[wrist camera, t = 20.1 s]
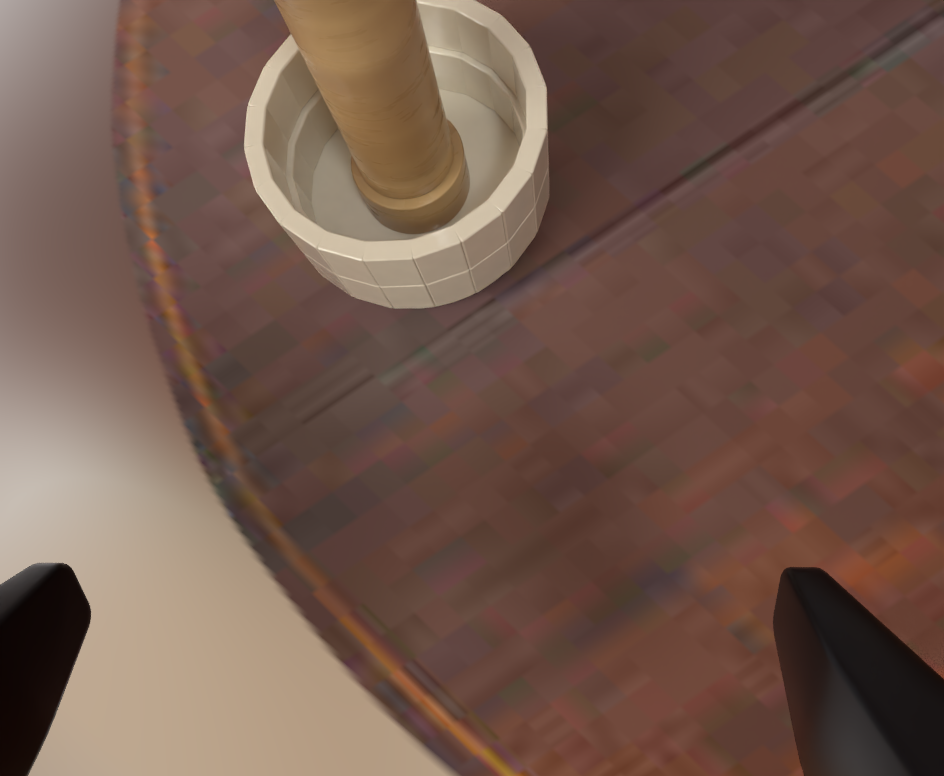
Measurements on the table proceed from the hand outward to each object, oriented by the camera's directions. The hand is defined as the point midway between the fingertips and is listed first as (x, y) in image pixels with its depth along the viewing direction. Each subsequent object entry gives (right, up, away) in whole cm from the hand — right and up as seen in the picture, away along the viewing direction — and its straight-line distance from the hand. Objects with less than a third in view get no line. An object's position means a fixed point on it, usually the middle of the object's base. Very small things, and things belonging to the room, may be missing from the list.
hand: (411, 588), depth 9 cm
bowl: (-1, +9, +16) cm, 19 cm away
